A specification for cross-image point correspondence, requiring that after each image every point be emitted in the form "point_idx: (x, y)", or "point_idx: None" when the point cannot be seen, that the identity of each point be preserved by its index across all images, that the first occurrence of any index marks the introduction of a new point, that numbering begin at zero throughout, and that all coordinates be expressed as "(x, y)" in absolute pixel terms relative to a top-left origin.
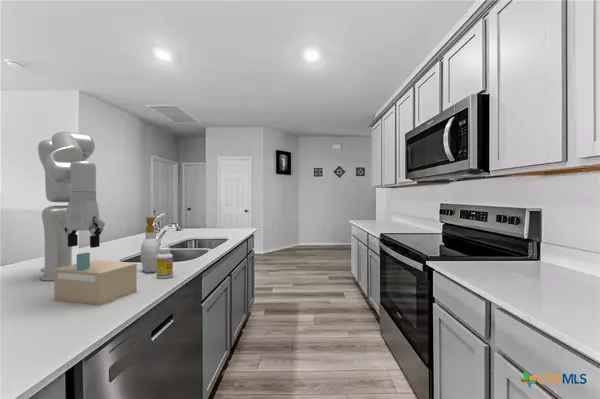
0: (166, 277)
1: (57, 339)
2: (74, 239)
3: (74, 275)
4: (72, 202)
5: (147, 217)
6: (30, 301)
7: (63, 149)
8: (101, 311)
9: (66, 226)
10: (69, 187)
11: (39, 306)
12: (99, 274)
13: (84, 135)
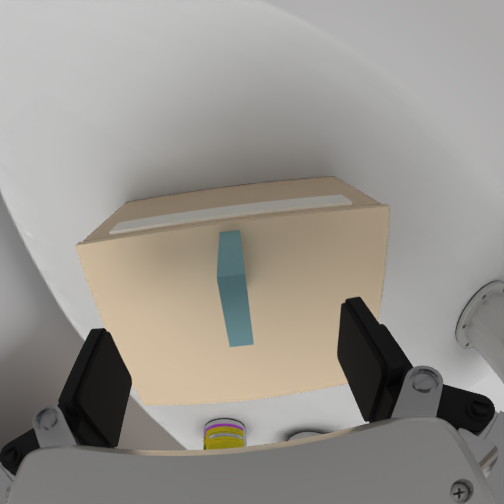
0: (206, 425)
1: (18, 31)
2: (357, 375)
3: (238, 210)
4: None
5: None
6: (385, 137)
7: None
8: (73, 170)
9: (444, 442)
10: None
11: (307, 110)
12: (85, 242)
13: None
